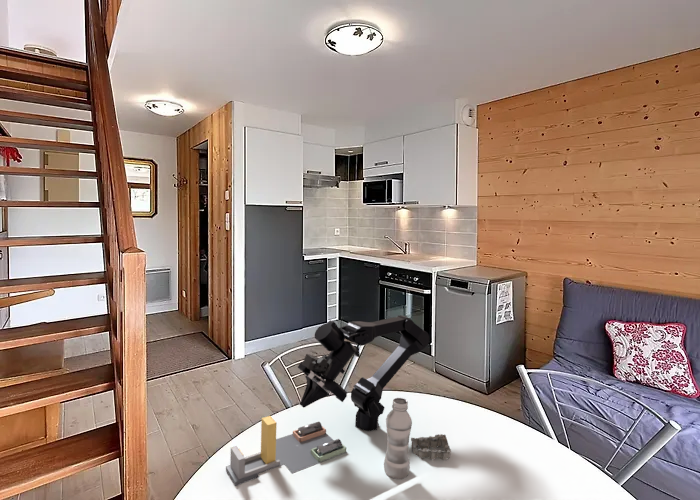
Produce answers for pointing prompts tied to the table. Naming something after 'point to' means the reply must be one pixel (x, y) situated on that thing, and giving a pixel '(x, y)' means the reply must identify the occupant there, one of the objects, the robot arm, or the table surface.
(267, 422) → the tall mustard pillar
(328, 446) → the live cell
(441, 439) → the egg carton
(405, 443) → the plastic bottle
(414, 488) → the table surface
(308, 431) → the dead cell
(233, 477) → the checker
